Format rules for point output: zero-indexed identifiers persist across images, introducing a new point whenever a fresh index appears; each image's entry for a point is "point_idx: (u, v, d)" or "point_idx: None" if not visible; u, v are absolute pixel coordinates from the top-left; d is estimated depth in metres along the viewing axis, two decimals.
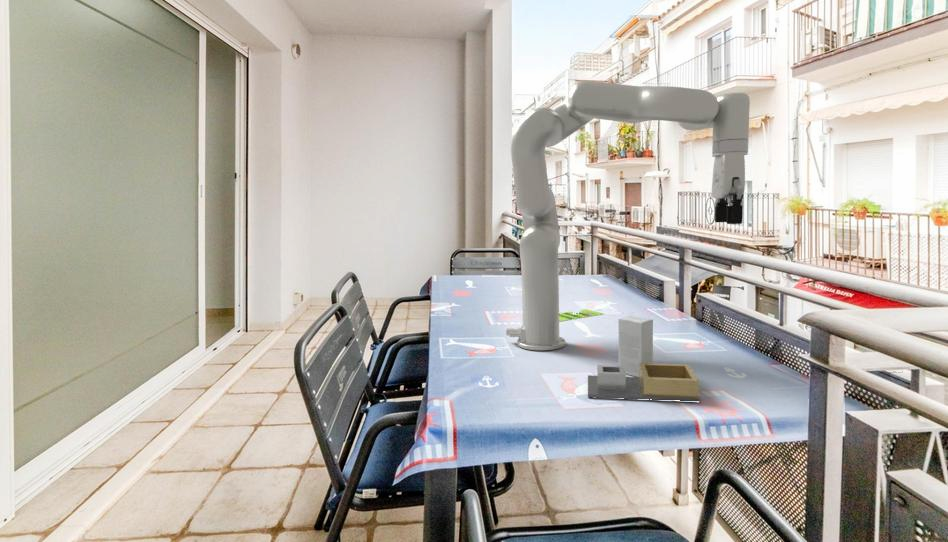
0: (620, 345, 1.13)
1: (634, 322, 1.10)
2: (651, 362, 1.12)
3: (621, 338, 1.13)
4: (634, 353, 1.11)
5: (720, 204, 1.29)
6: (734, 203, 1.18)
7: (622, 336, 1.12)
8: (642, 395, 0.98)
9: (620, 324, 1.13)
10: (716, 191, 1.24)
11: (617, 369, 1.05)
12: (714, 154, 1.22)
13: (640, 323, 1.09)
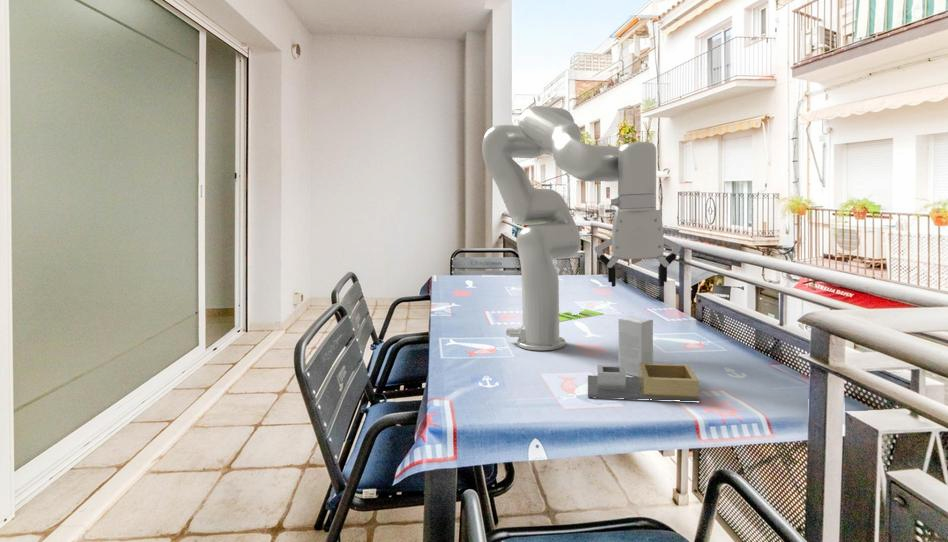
0: (620, 345, 1.13)
1: (634, 322, 1.10)
2: (651, 362, 1.12)
3: (621, 338, 1.13)
4: (634, 353, 1.11)
5: None
6: (669, 263, 1.08)
7: (622, 336, 1.12)
8: (642, 395, 0.98)
9: (620, 324, 1.13)
10: (640, 251, 1.07)
11: (617, 369, 1.05)
12: (643, 209, 1.05)
13: (640, 323, 1.09)
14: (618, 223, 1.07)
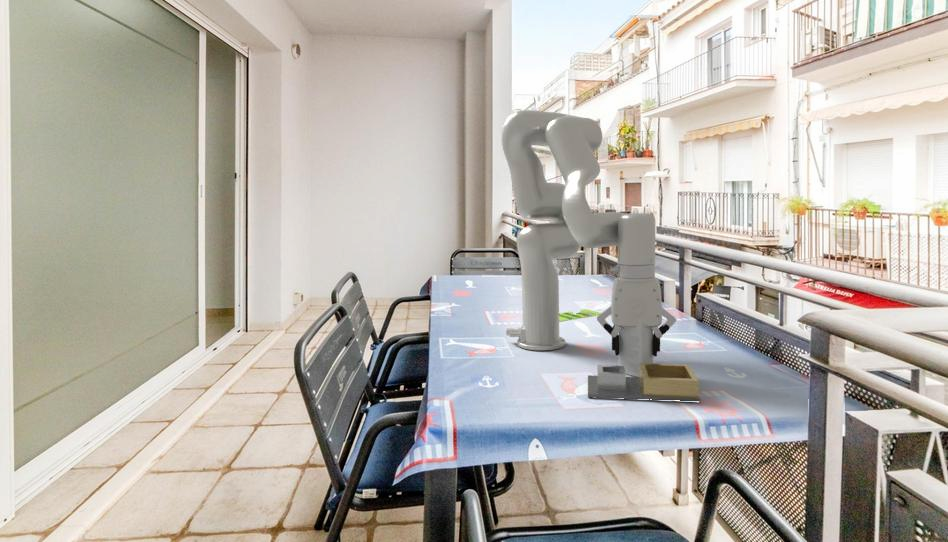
0: (621, 345, 1.13)
1: None
2: (651, 362, 1.12)
3: (621, 338, 1.13)
4: (634, 353, 1.11)
5: None
6: None
7: (622, 336, 1.12)
8: (642, 395, 0.98)
9: None
10: (638, 320, 1.09)
11: (617, 369, 1.05)
12: (642, 279, 1.07)
13: (640, 323, 1.09)
14: (617, 292, 1.09)
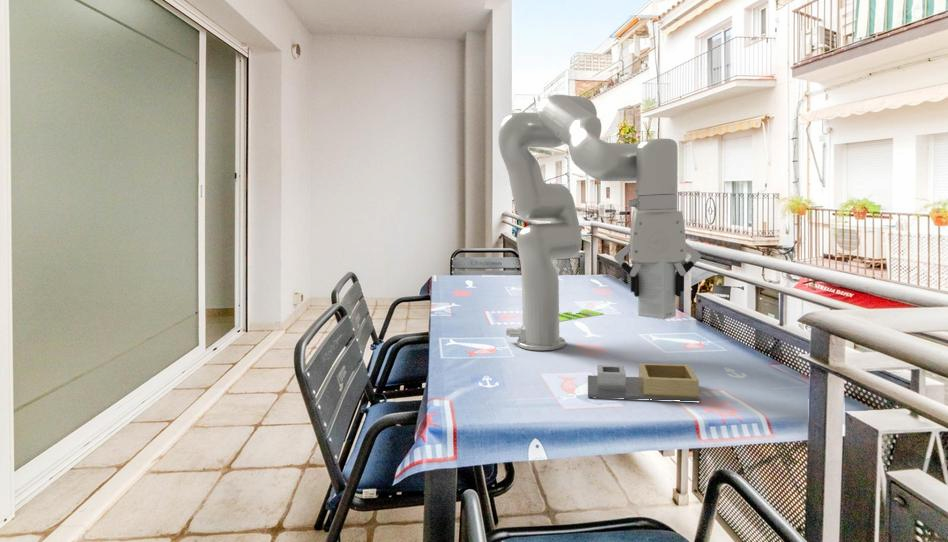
0: (640, 286, 1.04)
1: None
2: (674, 303, 1.03)
3: (641, 278, 1.04)
4: (655, 292, 1.02)
5: (637, 273, 1.03)
6: (686, 272, 1.02)
7: (642, 275, 1.04)
8: (642, 395, 0.98)
9: None
10: (660, 255, 1.00)
11: (617, 369, 1.05)
12: (664, 210, 0.98)
13: (662, 259, 1.00)
14: (637, 225, 1.01)
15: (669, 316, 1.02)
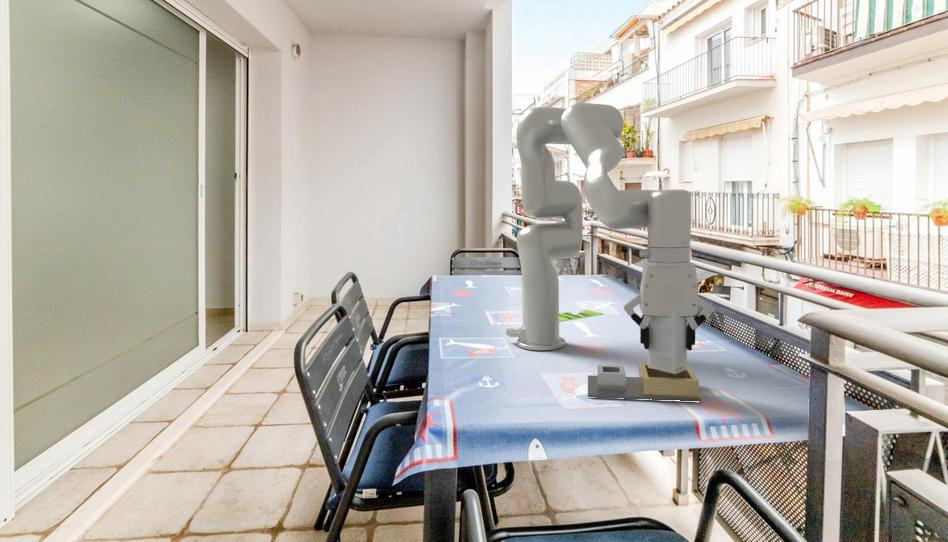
0: (650, 338, 1.01)
1: None
2: (685, 356, 1.00)
3: (651, 330, 1.01)
4: (666, 346, 0.99)
5: (647, 325, 1.01)
6: None
7: (652, 327, 1.01)
8: (642, 395, 0.98)
9: None
10: (672, 309, 0.97)
11: (617, 369, 1.05)
12: (676, 264, 0.95)
13: (674, 313, 0.97)
14: (648, 278, 0.98)
15: (680, 370, 0.99)
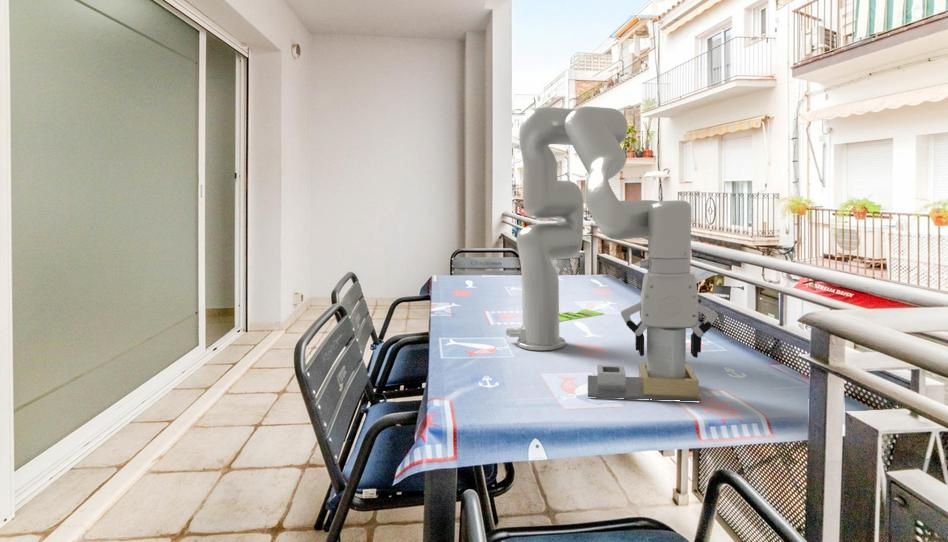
0: (649, 356, 1.02)
1: (665, 330, 0.99)
2: (684, 375, 1.00)
3: (650, 348, 1.02)
4: (665, 365, 0.99)
5: (642, 333, 1.01)
6: None
7: (651, 346, 1.01)
8: (642, 395, 0.98)
9: (649, 332, 1.02)
10: (672, 320, 0.97)
11: (617, 369, 1.05)
12: (676, 275, 0.95)
13: (672, 332, 0.98)
14: (648, 289, 0.98)
15: None
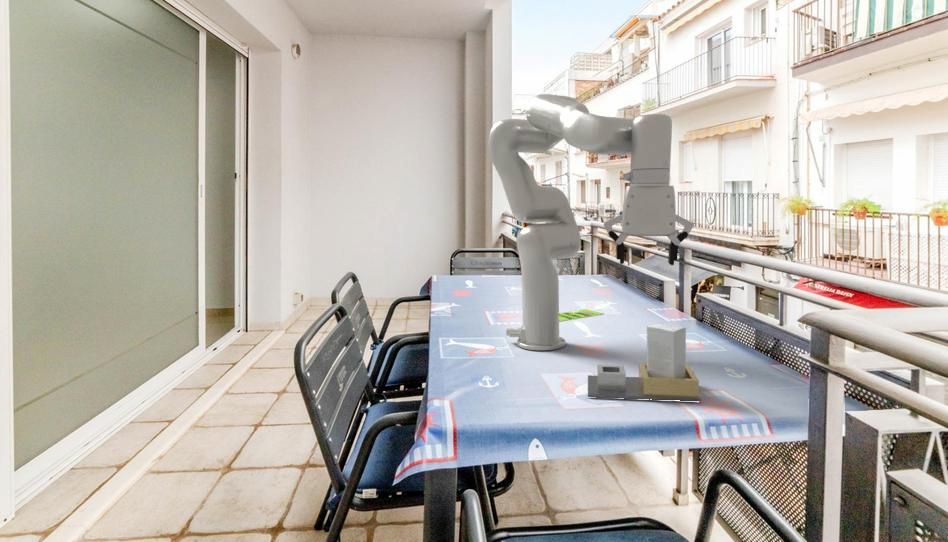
0: (649, 356, 1.02)
1: (665, 330, 0.99)
2: (684, 375, 1.00)
3: (650, 348, 1.02)
4: (665, 365, 0.99)
5: None
6: (681, 241, 1.05)
7: (651, 346, 1.01)
8: (642, 395, 0.98)
9: (649, 332, 1.02)
10: (650, 228, 1.04)
11: (617, 369, 1.05)
12: (655, 184, 1.02)
13: (672, 332, 0.98)
14: (629, 198, 1.04)
15: None
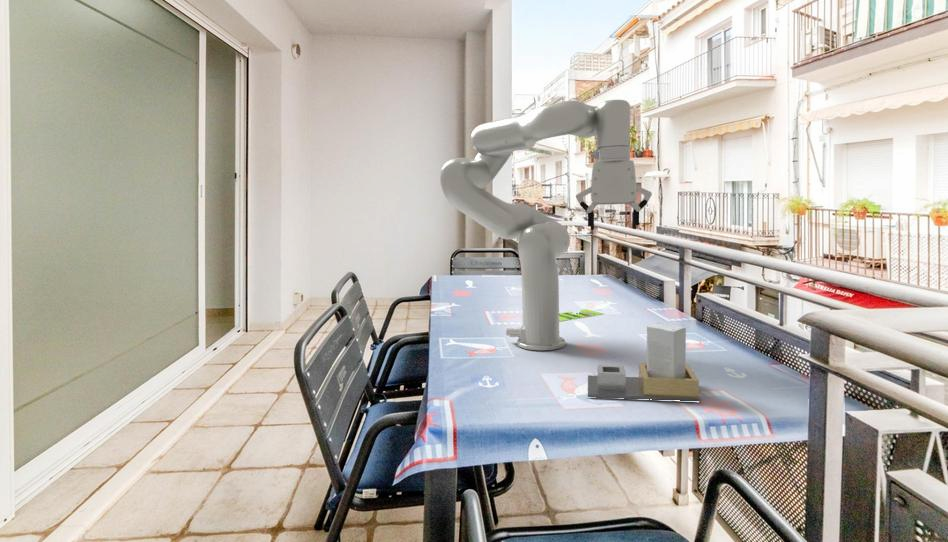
0: (649, 356, 1.02)
1: (665, 330, 0.99)
2: (684, 375, 1.00)
3: (650, 348, 1.02)
4: (665, 365, 0.99)
5: (592, 211, 1.25)
6: (641, 208, 1.22)
7: (651, 346, 1.01)
8: (642, 395, 0.98)
9: (649, 332, 1.02)
10: (615, 197, 1.21)
11: (617, 369, 1.05)
12: (618, 159, 1.19)
13: (672, 332, 0.98)
14: (596, 172, 1.22)
15: None
